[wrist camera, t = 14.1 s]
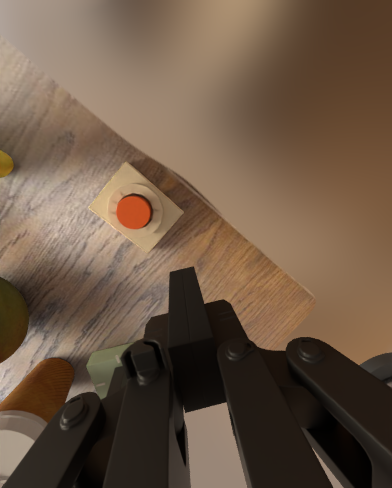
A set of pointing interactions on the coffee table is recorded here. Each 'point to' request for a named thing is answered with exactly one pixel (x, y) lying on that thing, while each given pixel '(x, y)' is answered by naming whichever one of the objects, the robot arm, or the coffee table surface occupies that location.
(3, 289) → the fruit
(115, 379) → the dial knob
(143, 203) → the switch button
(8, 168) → the bottle
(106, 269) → the coffee table surface
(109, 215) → the switch base
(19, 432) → the disposable coffee cup
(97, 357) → the dial base
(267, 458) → the robot arm
